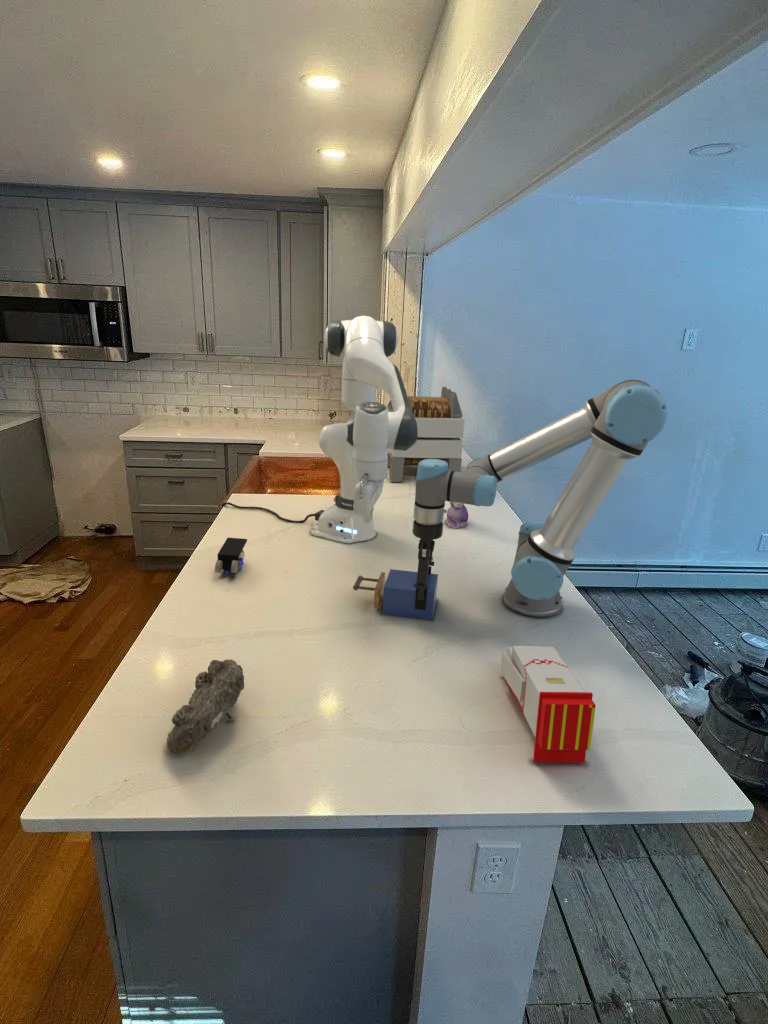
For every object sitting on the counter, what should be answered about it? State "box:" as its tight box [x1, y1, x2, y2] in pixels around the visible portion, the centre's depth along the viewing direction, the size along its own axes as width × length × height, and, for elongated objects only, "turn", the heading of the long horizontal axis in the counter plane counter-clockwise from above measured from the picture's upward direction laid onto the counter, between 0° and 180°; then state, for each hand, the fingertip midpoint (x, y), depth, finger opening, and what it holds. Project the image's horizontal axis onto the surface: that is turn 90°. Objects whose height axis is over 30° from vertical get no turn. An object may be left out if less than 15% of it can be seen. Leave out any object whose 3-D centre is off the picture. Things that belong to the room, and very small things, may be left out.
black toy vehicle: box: [214, 537, 248, 578], centre depth 166 cm, size 7×8×15 cm
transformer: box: [386, 386, 465, 483], centre depth 268 cm, size 34×33×41 cm
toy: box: [499, 645, 597, 764], centre depth 112 cm, size 12×13×30 cm
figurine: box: [445, 502, 469, 529], centre depth 209 cm, size 9×10×15 cm
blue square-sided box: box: [382, 568, 439, 621], centre depth 150 cm, size 13×11×8 cm
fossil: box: [166, 658, 245, 754], centre depth 106 cm, size 22×10×15 cm
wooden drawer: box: [352, 571, 387, 610], centre depth 151 cm, size 18×10×6 cm, turn 80°
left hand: (367, 521), depth 145 cm, fingers closed
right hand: (422, 598), depth 150 cm, fingers closed on blue square-sided box, 11 cm apart
